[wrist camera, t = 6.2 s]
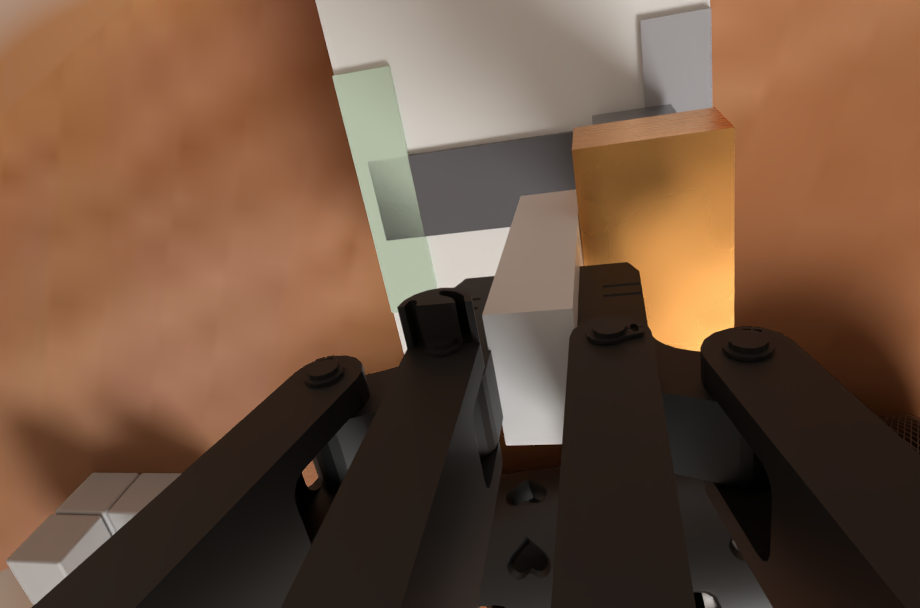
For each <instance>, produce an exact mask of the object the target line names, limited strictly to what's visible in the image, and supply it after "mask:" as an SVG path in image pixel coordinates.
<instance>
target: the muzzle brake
mask: <svg viewBox="0 0 920 608" xmlns="http://www.w3.org/2000/svg"><path fill="white" fill-rule="evenodd" d="M879 418H880V419H881V420H882V421H883V422H884V423H885V424H887V425H888V426H889V427H890V428H891V429H892V430H893V431H894V432H895V433H897V434H898V435H899V436H900V437H901V438H902V439H903V440H904V441H905V442H907V443H908V444H909V445H910V446H911V447H912V448H913V449H914V450H915V451H917V452H918V453H919V454H920V418H919V417H916V416H913V415H910V414H897V415H889V416H882V417H879ZM560 468H561V466H558V467H551V468H544V469H537V470H529V471H522V472H514V473H507V474H501V477H500V482H499V488H498V494H497V499H496V505H495V510H494V516H493V522H492V527H491V533H490V538H489V544H488V549H487V555H486V561H485V566H484V572H483V577H482V583H481V589H480V594H479V600H478V605H477V608H479V607H480V606H486V607H487V608H551V599H552V585H553V570H554V555H555V541H556V526H557V512H558V497H559V482H560ZM675 480H676V486H677V493H678V499H679V505H680V511H681V518H682V524H683V530H684V536H685V542H686V549H687V555H688V561H689V567H690V574H691V580H692V586H693V592H694V599H695V605H696V608H773V607H772V605H771V604H770V602H769V600H768V599H767V597H766V595H765V593H764V592H763V590H762V588H761V587H760V585H759V583H758V581H757V580H756V578H755V576H754V575H753V573H752V571H751V569H750V568H749V566H748V564H747V563H746V561H745V559H744V557H743V556H742V554H741V552H740V551H739V549H738V547H737V545H736V544H735V542H734V540H733V538H732V537H731V535H730V533H729V532H728V530H727V528H726V526H725V525H724V523H723V521H722V520H721V518H720V516H719V514H718V513H717V511H716V509H715V508H714V506H713V504H712V502H711V501H710V499H709V497H708V496H707V494H706V490H705V487H704V483H703V480H701V479H696V478H692V477H687V476H682V475H678V474H675Z"/></svg>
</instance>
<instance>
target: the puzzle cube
mask: <svg viewBox="0 0 920 608" xmlns="http://www.w3.org/2000/svg"><path fill="white" fill-rule="evenodd" d="M181 474H182V473H142V474H141V475H139V474H138V473H92V474H91V475H90V476H89V477H88V478H87V479H86V480H85V481H84V482H83V483H82V484H81V485H80V486H79V487H78V488H77V489H76V490H75V491H74V492H73V493H72V494H71V495H70V496H69V497H68V498H67V499H66V500H65V501H64V502H63V503H62V504H61V505H60V506H59V507H58V508H57V509H56V511H55V513H56V515H53V514H52V515H50V516H49V517H48V518H47V519H46V520H45V521H44V522H43V523H42V524H41V525H40V526H39V527H38V528H37V529H36V530H35V531H34V532H33V533H32V534H31V535H30V536H29V538H28V539H27V540H26V541H25V542H24V543H23V544H22V545H21V546H20V547H19V548H18V549H17V550H16V551H15V552H14V553H13V554H12V555H11V556H10V557H9V558H8V559H7V561H6V562H7V564H8V566H9V568H10V569H11V571H12V572H13V574H14V575H15V577H16V579H17V580H18V582H19V583H20V585H21V587H22V588H23V590H24V591H25V593H26V595H27V596H28V598H29V599H30V601H31V602H32V604H36V603H37V602H38V601H40V600H41V599H42V598H43V597H44V596H45V595H46V594H47V593H49V592H50V591H51V590H52V589H53V588H54V587H55V586H56V585H58V584H59V583H60V582H61V581H62V580H63V579H64V578H65V577H66V576H68V575H69V574H70V573H71V572H72V571H73V570H74V569H75V568H77V567H78V566H79V565H80V564H81V563H82V562H83V561H84V560H86V559H87V558H88V557H89V556H90V555H91V554H92V553H93V552H95V551H96V550H97V549H98V548H99V547H100V546H101V545H102V544H103V543H105V542H106V541H107V540H108V539H109V538H110V537H111V536H112V535H114V534H115V533H116V532H117V531H118V530H119V529H120V528H121V527H123V526H124V525H125V524H126V523H127V522H128V521H129V520H130V519H132V518H133V517H134V516H135V515H136V514H137V513H138V512H139V511H141V510H142V509H143V508H144V507H145V506H146V505H147V504H148V503H149V502H151V501H152V500H153V499H154V498H155V497H156V496H157V495H158V494H160V493H161V492H162V491H163V490H164V489H165V488H166V487H167V486H169V485H170V484H171V483H172V482H173V481H174V480H175V479H176V478H178V477H179V476H180V475H181Z"/></svg>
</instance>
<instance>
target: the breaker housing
mask: <svg viewBox="0 0 920 608" xmlns="http://www.w3.org/2000/svg"><path fill="white" fill-rule="evenodd" d="M315 1H316V5H317V9H318V13H319V17H320V21H321V25H322V29H323V33H324V37H325V41H326V45H327V49H328V53H329V57H330V61H331V65H332V69H333V73H334V76H332V78H333V82H334V86H335V90H336V94H337V98H338V102H339V106H340V110H341V114H342V117H343V121H344V125H345V129H346V133H347V137H348V141H349V145H350V149H351V153H352V157H353V161H354V165H355V169H356V173H357V177H358V181H359V185H360V189H361V193H362V197H363V201H364V205H365V209H366V213H367V217H368V221H369V224H370V228H371V232H372V236H373V240H374V244H375V248H376V252H377V256H378V260H379V264H380V268H381V272H382V276H383V280H384V284H385V288H386V292H387V296H388V300H389V304H390V308H391V312H392V313H394V316H395V320H396V324H397V328H398V332H399V336H400V340H401V344H402V348H403V352H404V354H405V352H406V350H407V345H406V341H405V337H404V333H403V329H402V325H401V321H400V317H399V313H398V309H397V307H398V306H399V305H400V304H401V303H402V302H403V301H404V300H406V299H407V298H409V297H411V296H413V295H415V294H418V293H421V292H424V291H427V290H431V289H437V288H455V287H456V286H457V285H458V284H460V283H461V282H462V281H463V280H465V279H467V278H478V277H489V276H495V274H496V271H497V268H498V264H499V261H500V258H501V255H502V252H503V249H504V246H505V243H506V240H507V237H508V233H509V230H510V227H511V224H512V221H513V218H514V215H515V212H516V209H517V206H518V202H519V199H520V196H526V195H534V194H542V193H550V192H559V191H567V190H575V189H576V185H575V176H574V166H573V157H572V141H573V129H574V128H576V127H582V126H589V125H592V115H599V114H606V113H612V112H619V111H626V110H632V109H639V108H646V107H653V106H659V105H666V104H671V105H672V106H673V108H674V109H675V111H676V112H677V113H679V112H685V111H692V110H699V109H706V108H712V36H711V8H710V0H315Z"/></svg>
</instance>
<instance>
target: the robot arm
mask: <svg viewBox="0 0 920 608" xmlns="http://www.w3.org/2000/svg"><path fill="white" fill-rule="evenodd" d="M397 309H398V313H399V317H400V321H401V325H402V329H403V333H404V337H405V341H406V345H407V350H406V352H405V354H404V357H403V359H402V361H401V363H400V365H399V367H395V368H392V369H389V370H385V371H381V372H377V373H373V374H368V375H365V372H364V369H363V365H362V363H361V362H360V361H359V360H358V359H357V358H354V357H350V356H327V358H325V357H323V358H320V359H317V360H316V361H314V362H312V363H310V364H308V365H305V366H304V367H303V368H301V369H300V370H298V371H297V372H295V373H294V374H293V375H292V376H291V377H290V378H289V379H287V380H286V381H285V382H284V383H283V384H282V385H281V386H280V387H278V388H277V389H276V390H275V391H274V392H273V393H272V394H271V395H269V396H268V397H267V398H266V399H265V400H264V401H263V402H262V403H261V404H259V405H258V406H257V407H256V408H255V409H254V410H253V411H252V412H250V413H249V414H248V415H247V416H246V417H245V418H244V419H243V420H241V421H240V422H239V423H238V424H237V425H236V426H235V427H234V428H232V429H231V430H230V431H229V432H228V433H227V434H226V435H225V436H224V437H222V438H221V439H220V440H219V441H218V442H217V443H216V444H215V445H213V446H212V447H211V448H210V449H209V450H208V451H207V452H206V453H204V454H203V455H202V456H201V457H200V458H199V459H198V460H197V461H195V462H194V463H193V464H192V465H191V466H190V467H189V468H188V469H186V470H185V471H184V472H183V473H182V474H181V475H180V476H179V477H178V478H176V479H175V480H174V481H173V482H172V483H171V484H170V485H169V486H167V487H166V488H165V489H164V490H163V491H162V492H161V493H160V494H158V495H157V496H156V497H155V498H154V499H153V500H152V501H151V502H149V503H148V504H147V505H146V506H145V507H144V508H143V509H142V510H141V511H139V512H138V513H137V514H136V515H135V516H134V517H133V518H132V519H130V520H129V521H128V522H127V523H126V524H125V525H124V526H123V527H121V528H120V529H119V530H118V531H117V532H116V533H115V534H114V535H112V536H111V537H110V538H109V539H108V540H107V541H106V542H105V543H103V544H102V545H101V546H100V547H99V548H98V549H97V550H96V551H95V552H93V553H92V554H91V555H90V556H89V557H88V558H87V559H86V560H84V561H83V562H82V563H81V564H80V565H79V566H78V567H77V568H75V569H74V570H73V571H72V572H71V573H70V574H69V575H68V576H66V577H65V578H64V579H63V580H62V581H61V582H60V583H59V584H58V585H56V586H55V587H54V588H53V589H52V590H51V591H50V592H49V593H47V594H46V595H45V596H44V597H43V598H42V599H41V600H40V601H38V602H37V603H36V604H35V605H34V606H33V607H32V608H477V605H478V600H479V594H480V589H481V583H482V577H483V572H484V566H485V561H486V555H487V549H488V544H489V538H490V533H491V527H492V522H493V516H494V510H495V505H496V499H497V494H498V488H499V482H500V477H501V471H502V466H503V461H502V454H501V448H500V443H499V437H500V432H501V427H502V426H503V431H504V437H505V442H506V446H510V445H548V444H562V453H561V468H560V482H559V497H558V512H557V526H556V541H555V555H554V570H553V585H552V599H551V608H696V605H695V599H694V592H693V586H692V580H691V574H690V567H689V561H688V555H687V549H686V542H685V536H684V530H683V524H682V518H681V511H680V505H679V499H678V493H677V486H676V480H675V474H678V475H682V476H687V477H692V478H696V479H701V480H703V483H704V487H705V490H706V494H707V496H708V497H709V499H710V501H711V502H712V504H713V506H714V508H715V509H716V511H717V513H718V514H719V516H720V518H721V520H722V521H723V523H724V525H725V526H726V528H727V530H728V532H729V533H730V535H731V537H732V538H733V540H734V542H735V544H736V545H737V547H738V549H739V551H740V552H741V554H742V556H743V557H744V559H745V561H746V563H747V564H748V566H749V568H750V569H751V571H752V573H753V575H754V576H755V578H756V580H757V581H758V583H759V585H760V587H761V588H762V590H763V592H764V593H765V595H766V597H767V599H768V600H769V602H770V604H771V605H772V607H773V608H920V454H919V453H918V452H917V451H915V450H914V449H913V448H912V447H911V446H910V445H909V444H908V443H907V442H905V441H904V440H903V439H902V438H901V437H900V436H899V435H898V434H897V433H895V432H894V431H893V430H892V429H891V428H890V427H889V426H888V425H887V424H885V423H884V422H883V421H882V420H881V419H880V418H879V417H878V416H877V415H875V414H874V413H873V412H872V411H871V410H870V409H869V408H868V407H867V406H865V405H864V404H863V403H862V402H861V401H860V400H859V399H858V398H857V397H855V396H854V395H853V394H852V393H851V392H850V391H849V390H848V389H847V388H845V387H844V386H843V385H842V384H841V383H840V382H839V381H838V380H837V379H835V378H834V377H833V376H832V375H831V374H830V373H829V372H828V371H827V370H825V369H824V368H823V367H822V366H821V365H820V364H819V363H818V362H817V361H815V360H814V359H813V358H812V357H811V356H810V355H809V354H808V353H807V352H805V351H804V350H803V349H802V348H801V347H800V346H799V345H798V344H797V343H795V342H794V341H793V340H792V339H790V338H788V337H787V336H785V335H783V334H782V333H779V332H775V331H772V330H768V329H765V328H761V327H752V326H741V327H737V328H728V329H725V330H721V331H718V332H715V333H713V334H711V335H710V336H708V337H707V338H705V339H704V341H703V343H702V345H701V347H700V351H692V350H685V349H680V348H675V347H672V346H669V345H666V344H664V343H662V342H660V341H658V340H656V339H655V338H654V337H653V336H652V332H651V330H650V328H649V327H648V323H647V316H646V310H645V304H644V297H643V291H642V285H641V278H640V272H639V270H637V269H636V268H635V267H633V266H632V265H631V264H630V263H628V262H621V263H611V264H600V265H589V266H584V261H583V252H582V242H581V233H580V223H579V214H578V204H577V195H576V189H575V190H567V191H559V192H550V193H542V194H534V195H526V196H520V199H519V202H518V206H517V209H516V212H515V215H514V218H513V221H512V224H511V227H510V230H509V233H508V237H507V240H506V243H505V246H504V249H503V252H502V255H501V258H500V261H499V264H498V268H497V271H496V274H495V276H489V277H478V278H467V279H465V280H463V281H462V282H461V283H460V284H458V285H457V286H456V287H455V288H437V289H431V290H427V291H424V292H421V293H418V294H415V295H413V296H411V297H409V298H407V299H406V300H404V301H403V302H402V303H401V304H400V305H399V306H398V307H397ZM312 460H313V462H314V465H315V468H316V471H317V474H318V479H317V480H316V481H315V482H314V483H313V484H312V485H311V486H309V487H307V485H306V484H305V481H304V478H303V475H302V471H303V470H304V469H305V468H306V466H307V465H308V464H309V463H310V462H311V461H312Z"/></svg>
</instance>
